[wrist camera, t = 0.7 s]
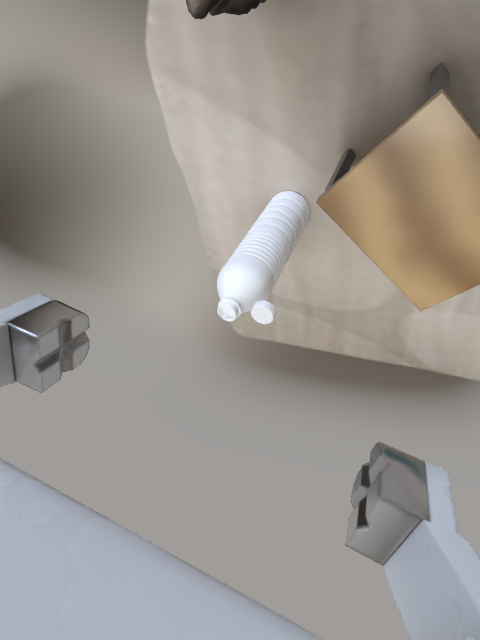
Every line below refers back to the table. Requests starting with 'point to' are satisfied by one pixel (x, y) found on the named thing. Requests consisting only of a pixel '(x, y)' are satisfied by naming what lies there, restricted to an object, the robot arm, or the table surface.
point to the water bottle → (261, 259)
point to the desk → (416, 201)
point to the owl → (220, 7)
